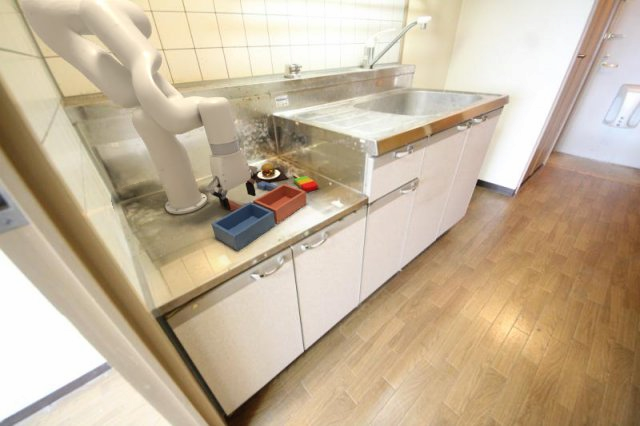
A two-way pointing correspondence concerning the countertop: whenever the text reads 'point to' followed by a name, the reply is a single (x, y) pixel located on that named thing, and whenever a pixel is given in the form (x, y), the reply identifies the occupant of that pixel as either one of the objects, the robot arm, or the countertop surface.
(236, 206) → the terracotta spoon
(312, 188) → the popsicle
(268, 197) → the terracotta bin
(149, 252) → the countertop surface
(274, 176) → the hamburger
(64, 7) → the robot arm
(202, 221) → the countertop surface
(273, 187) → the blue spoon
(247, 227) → the blue bin
